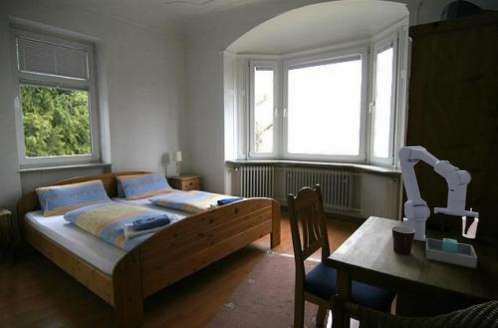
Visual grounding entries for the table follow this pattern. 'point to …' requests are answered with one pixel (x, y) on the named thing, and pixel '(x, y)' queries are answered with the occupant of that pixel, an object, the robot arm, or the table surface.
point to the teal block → (449, 246)
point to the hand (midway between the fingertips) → (453, 232)
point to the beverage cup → (472, 228)
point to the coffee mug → (402, 239)
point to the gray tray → (451, 254)
